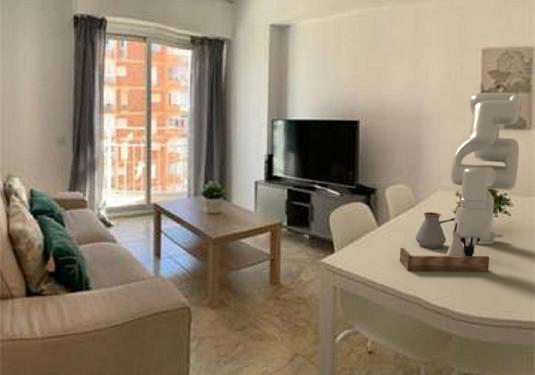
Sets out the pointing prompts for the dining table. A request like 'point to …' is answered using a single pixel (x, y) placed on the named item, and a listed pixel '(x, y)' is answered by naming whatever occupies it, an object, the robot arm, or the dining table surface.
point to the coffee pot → (431, 231)
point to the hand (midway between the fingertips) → (468, 256)
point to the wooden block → (444, 262)
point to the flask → (455, 246)
